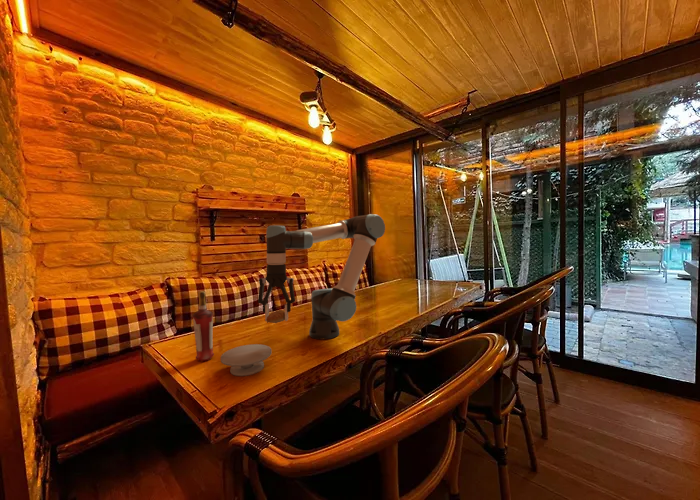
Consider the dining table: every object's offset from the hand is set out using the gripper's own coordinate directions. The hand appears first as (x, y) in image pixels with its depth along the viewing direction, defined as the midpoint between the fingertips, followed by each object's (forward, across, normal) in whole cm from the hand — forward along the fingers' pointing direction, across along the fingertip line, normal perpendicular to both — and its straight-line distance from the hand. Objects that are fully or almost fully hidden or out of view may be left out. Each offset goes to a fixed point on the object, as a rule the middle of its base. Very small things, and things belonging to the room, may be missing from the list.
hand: (276, 320), depth 117 cm
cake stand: (+16, +9, +8) cm, 20 cm away
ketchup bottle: (+17, +30, -3) cm, 35 cm away
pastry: (0, 0, 0) cm, 0 cm away
